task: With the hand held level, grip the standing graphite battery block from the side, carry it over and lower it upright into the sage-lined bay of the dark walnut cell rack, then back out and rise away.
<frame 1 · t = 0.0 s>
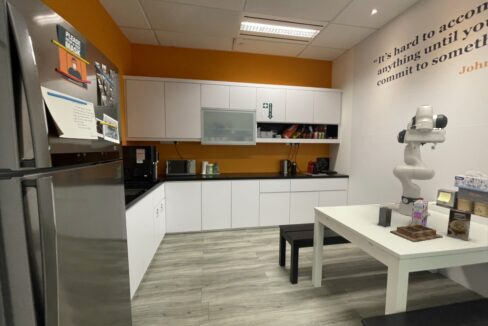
hand: (423, 149, 136), 52 cm above the table, tool tilted 20°, fingers open, 8 cm apart
coffee box: (457, 237, 128), on the table
candy box: (418, 225, 146), on the table
battery cell: (384, 225, 145), on the table
walnut cell rack: (415, 234, 130), on the table
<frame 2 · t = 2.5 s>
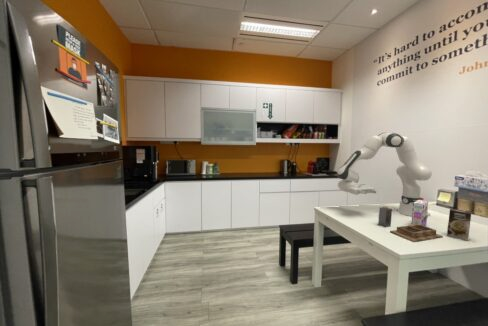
hand: (370, 192, 155), 20 cm above the table, tool horizontal, fingers open, 8 cm apart
nothing on the table moved.
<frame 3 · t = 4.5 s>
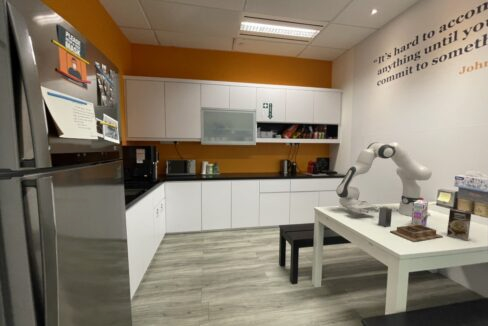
hand: (372, 211, 153), 7 cm above the table, tool horizontal, fingers open, 8 cm apart
nothing on the table moved.
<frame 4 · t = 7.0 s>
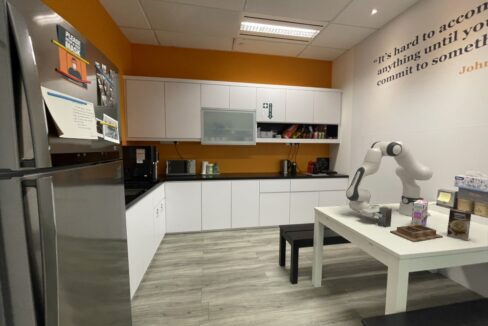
hand: (386, 215, 143), 7 cm above the table, tool horizontal, fingers closed on battery cell, 5 cm apart
battery cell: (384, 225, 145), on the table, touching gripper
everything else where it was.
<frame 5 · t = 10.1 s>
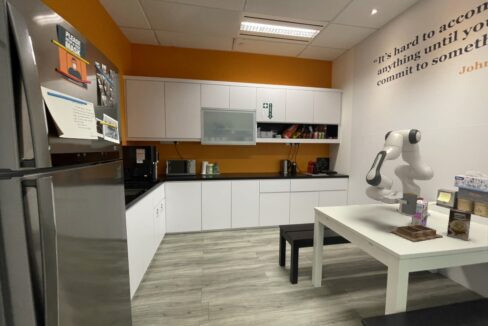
hand: (411, 202, 128), 20 cm above the table, tool horizontal, fingers closed on battery cell, 5 cm apart
battery cell: (408, 213, 130), point 13 cm above the table, touching gripper
everything else where it was.
when the fingers open (9 cm above the table, at t = 13.3 s): battery cell drops 1 cm, resting on walnut cell rack.
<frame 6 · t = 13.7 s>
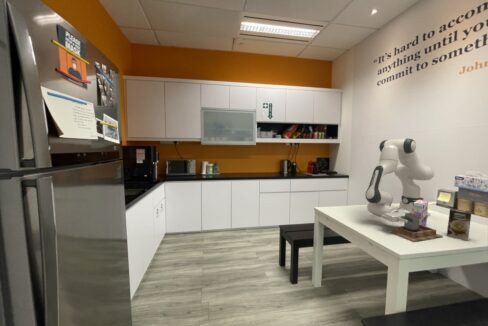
hand: (413, 220, 127), 9 cm above the table, tool horizontal, fingers open, 8 cm apart
battery cell: (410, 233, 129), point 1 cm above the table, touching walnut cell rack
everything else where it was.
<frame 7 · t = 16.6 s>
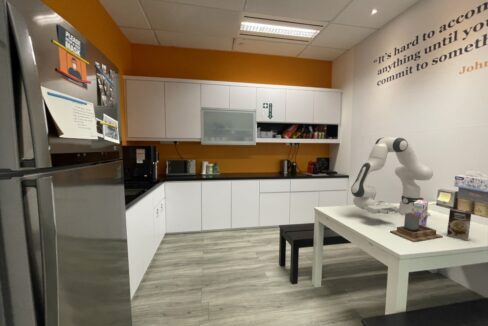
hand: (392, 212, 140), 10 cm above the table, tool horizontal, fingers open, 8 cm apart
nothing on the table moved.
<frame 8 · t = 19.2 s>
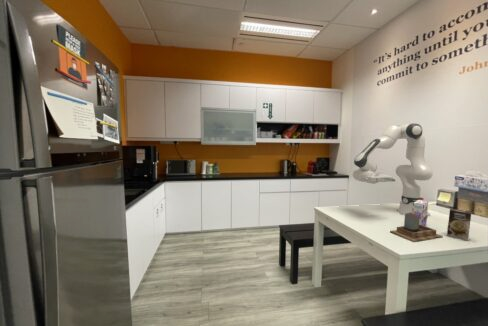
hand: (389, 180, 147), 30 cm above the table, tool horizontal, fingers open, 8 cm apart
nothing on the table moved.
at the end: battery cell 0.1 cm from the target spot on the walnut cell rack, point 1.2 cm above the walnut cell rack's base; battery cell tilted 0°; the gripper is holding nothing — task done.
